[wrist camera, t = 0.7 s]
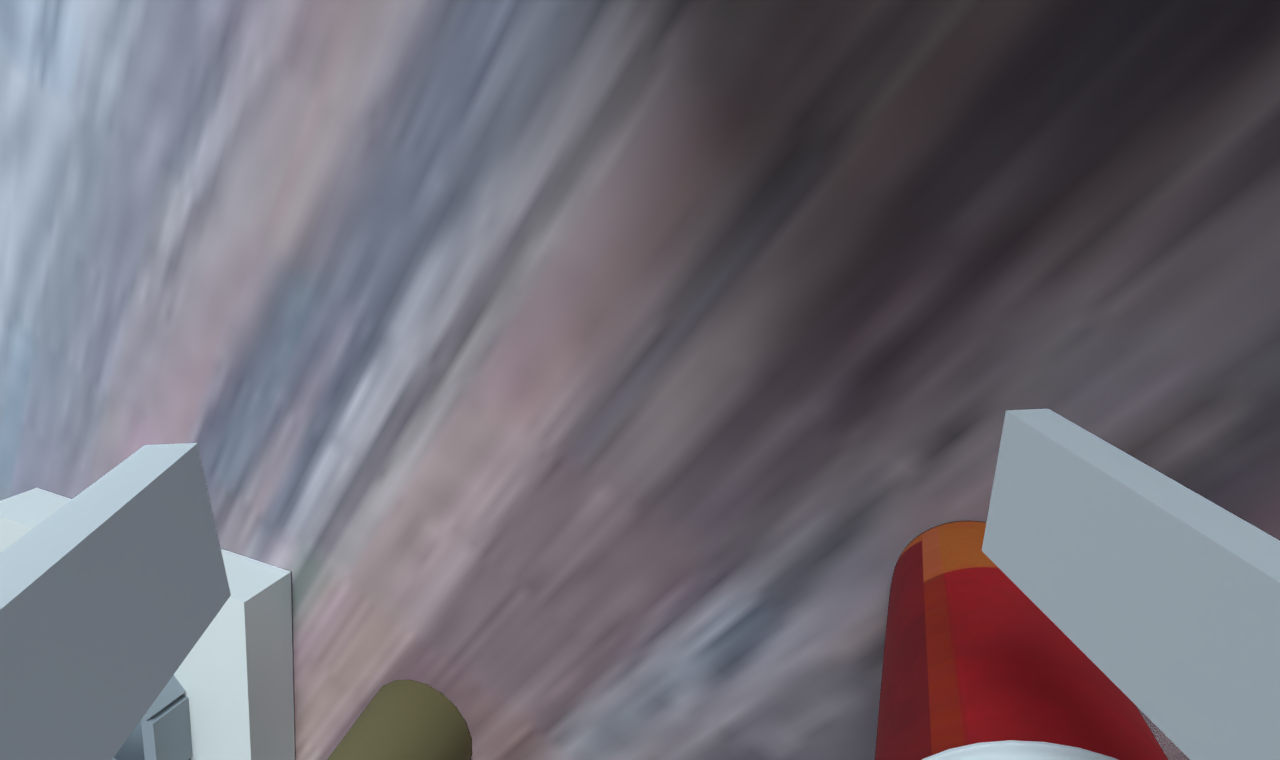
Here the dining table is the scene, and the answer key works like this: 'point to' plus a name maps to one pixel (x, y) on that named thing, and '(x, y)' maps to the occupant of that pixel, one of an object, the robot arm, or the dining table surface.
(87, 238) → the dining table surface
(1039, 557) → the robot arm
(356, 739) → the cork
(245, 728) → the base plate
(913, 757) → the paper cup
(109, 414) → the dining table surface
